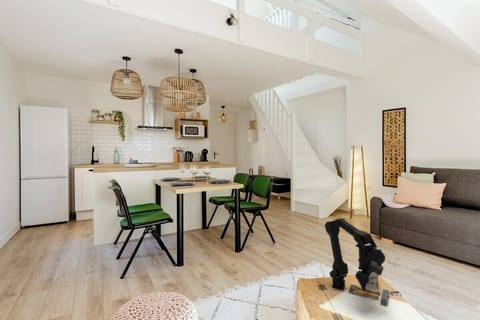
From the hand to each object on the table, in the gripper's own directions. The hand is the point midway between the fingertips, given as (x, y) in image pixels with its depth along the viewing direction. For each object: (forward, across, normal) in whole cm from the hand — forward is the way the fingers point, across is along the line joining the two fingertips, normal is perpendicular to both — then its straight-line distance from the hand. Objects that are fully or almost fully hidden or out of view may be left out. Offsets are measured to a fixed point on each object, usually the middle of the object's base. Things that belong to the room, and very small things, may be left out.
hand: (365, 286), depth 136 cm
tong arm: (+10, +9, +3) cm, 13 cm away
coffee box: (+10, +24, +1) cm, 26 cm away
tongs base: (+10, +11, +3) cm, 15 cm away
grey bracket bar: (+10, +10, -8) cm, 16 cm away
